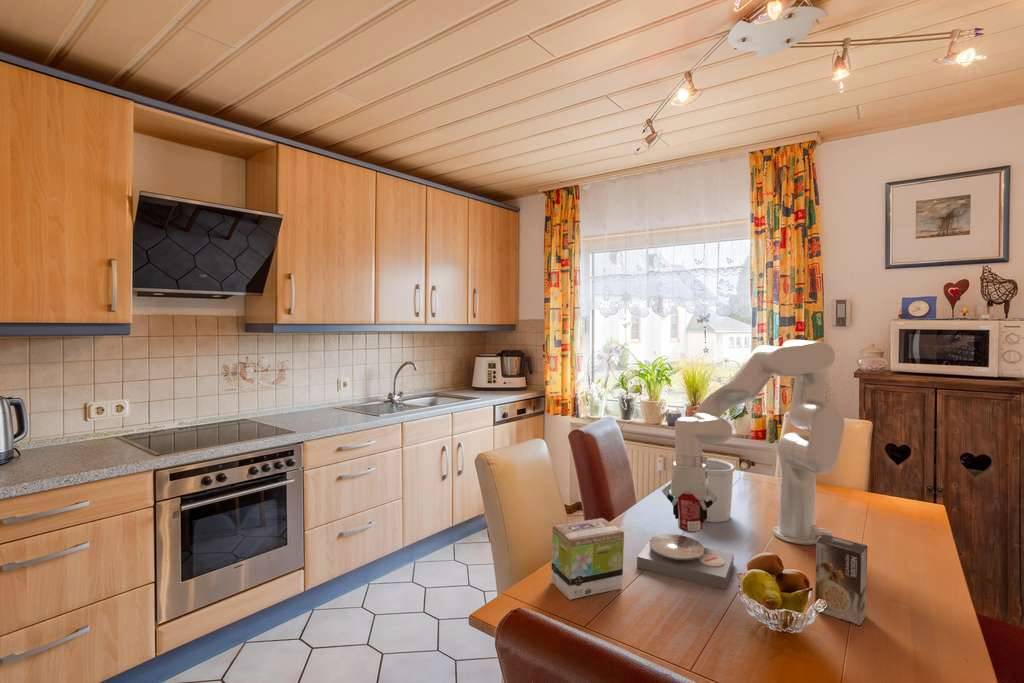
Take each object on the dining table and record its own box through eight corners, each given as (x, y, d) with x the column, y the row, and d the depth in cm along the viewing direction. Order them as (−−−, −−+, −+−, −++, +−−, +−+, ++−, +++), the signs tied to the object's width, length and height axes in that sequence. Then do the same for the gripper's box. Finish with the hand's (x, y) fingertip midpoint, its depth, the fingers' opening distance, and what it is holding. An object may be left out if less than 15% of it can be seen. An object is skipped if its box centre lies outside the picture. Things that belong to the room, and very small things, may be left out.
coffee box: (867, 615, 118) (870, 545, 117) (860, 627, 114) (863, 554, 113) (821, 599, 125) (823, 533, 124) (813, 610, 120) (815, 541, 120)
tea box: (570, 602, 123) (571, 540, 122) (550, 582, 132) (550, 524, 132) (623, 589, 129) (624, 530, 128) (601, 571, 138) (602, 515, 138)
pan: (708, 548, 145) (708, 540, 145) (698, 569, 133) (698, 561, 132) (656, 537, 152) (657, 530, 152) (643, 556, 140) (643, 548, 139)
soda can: (704, 535, 152) (703, 494, 151) (679, 534, 153) (678, 493, 152) (700, 525, 158) (699, 486, 158) (677, 524, 160) (676, 485, 159)
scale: (733, 564, 142) (733, 551, 142) (725, 589, 129) (725, 575, 129) (652, 546, 153) (652, 534, 153) (636, 567, 140) (637, 554, 140)
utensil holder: (741, 517, 176) (743, 465, 175) (714, 527, 168) (716, 472, 167) (703, 504, 188) (705, 455, 187) (676, 512, 180) (677, 461, 179)
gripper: (722, 459, 153) (723, 519, 154) (662, 453, 162) (663, 510, 163) (718, 466, 147) (719, 529, 148) (655, 460, 155) (657, 519, 156)
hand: (690, 518), depth 155 cm, fingers closed on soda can, 6 cm apart
